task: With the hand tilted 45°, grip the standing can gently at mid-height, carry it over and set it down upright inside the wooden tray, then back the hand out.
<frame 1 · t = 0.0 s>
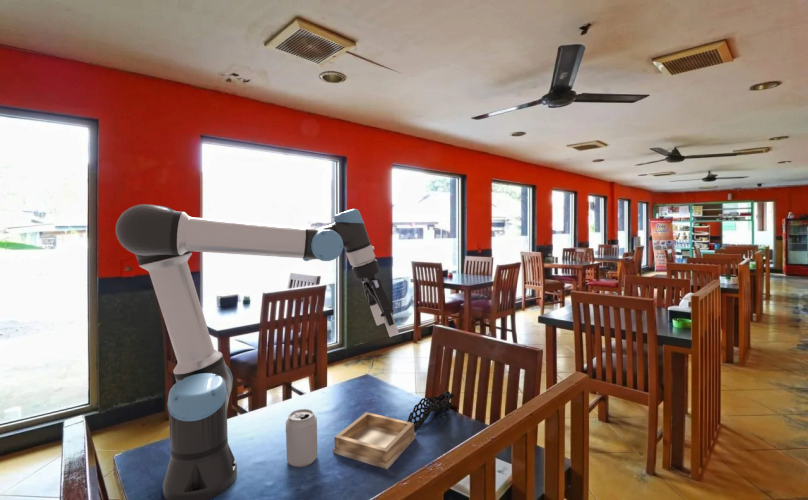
hand: (387, 329, 119), 28 cm above the table, tool tilted 20°, fingers open, 13 cm apart
decorative element: (431, 417, 124), on the table
wooden tray: (375, 445, 107), on the table
can: (302, 461, 101), on the table
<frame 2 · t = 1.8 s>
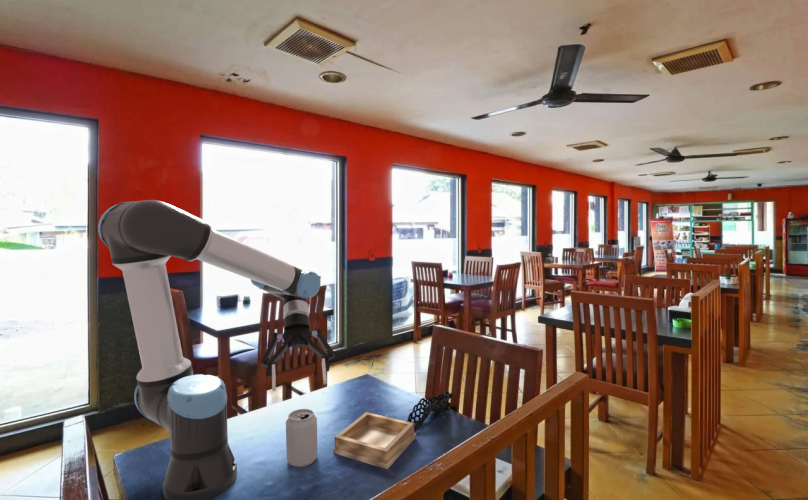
hand: (300, 385, 110), 15 cm above the table, tool tilted 45°, fingers open, 13 cm apart
nothing on the table moved.
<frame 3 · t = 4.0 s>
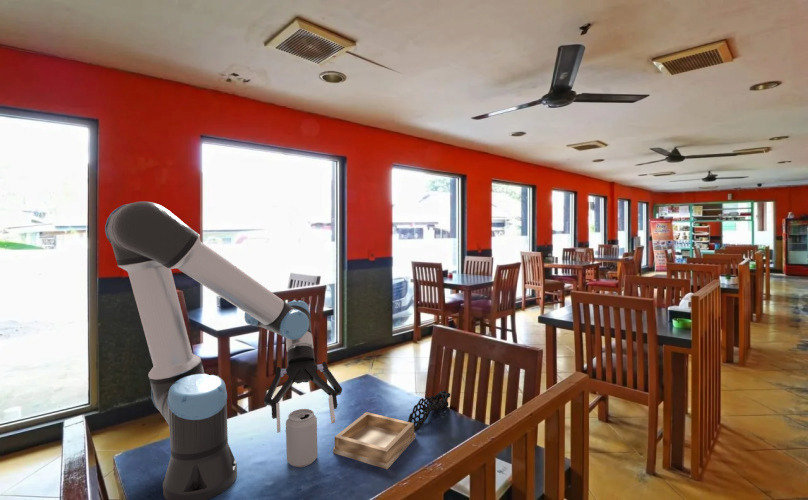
hand: (306, 426, 103), 7 cm above the table, tool tilted 45°, fingers open, 13 cm apart
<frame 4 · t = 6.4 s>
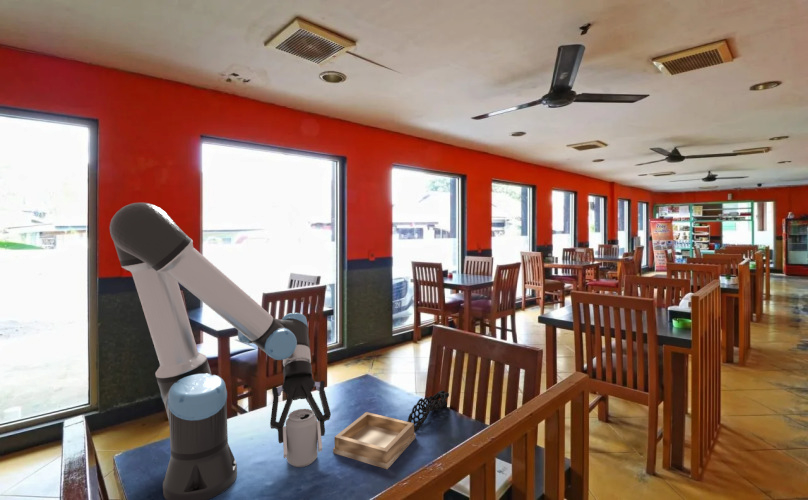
hand: (303, 452, 97), 4 cm above the table, tool tilted 45°, fingers closed on can, 7 cm apart
can: (302, 460, 101), on the table, touching gripper
everything else where it was.
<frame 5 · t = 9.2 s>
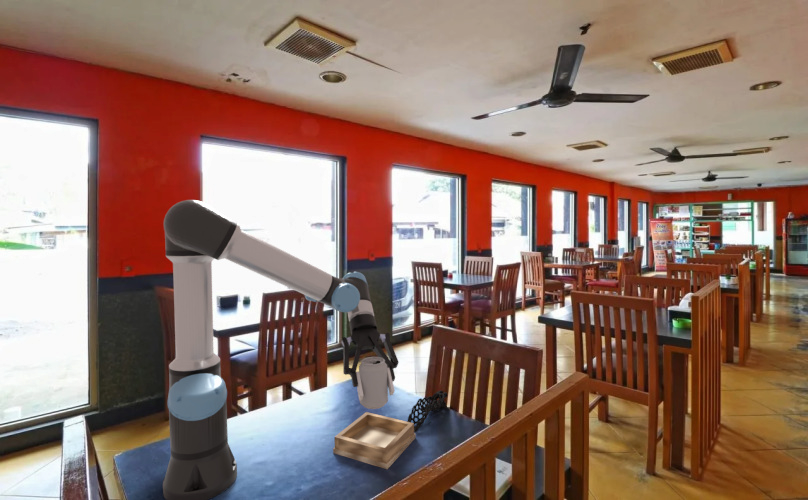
hand: (376, 395, 103), 15 cm above the table, tool tilted 45°, fingers closed on can, 7 cm apart
can: (373, 404, 107), point 11 cm above the table, touching gripper
when the fingers open (6 cm above the table, at t = 12.0 s): can drops 1 cm, resting on wooden tray.
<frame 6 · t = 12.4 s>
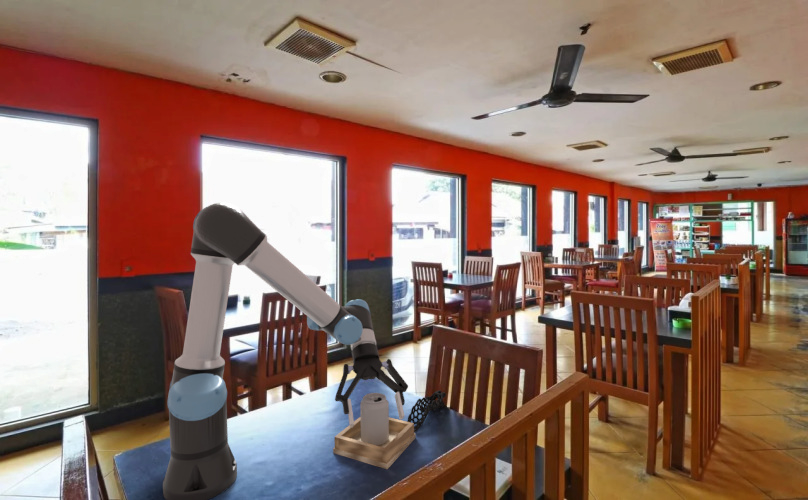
hand: (377, 421, 105), 8 cm above the table, tool tilted 45°, fingers open, 13 cm apart
can: (374, 441, 107), point 1 cm above the table, touching wooden tray
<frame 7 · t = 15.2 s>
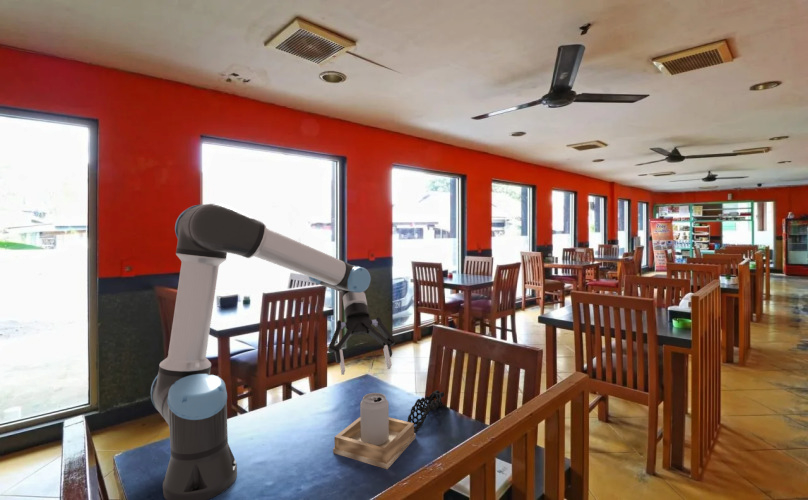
hand: (366, 369, 116), 17 cm above the table, tool tilted 45°, fingers open, 13 cm apart
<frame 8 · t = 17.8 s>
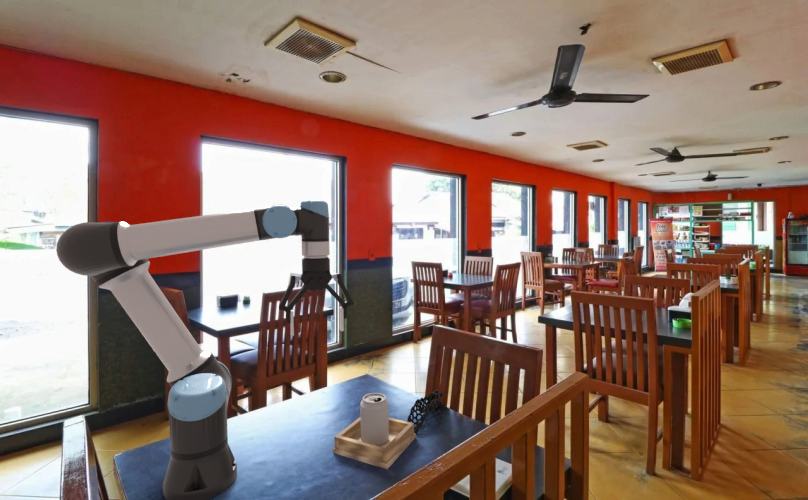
hand: (317, 332, 113), 29 cm above the table, tool pointing down, fingers open, 13 cm apart
at the end: can inside the target area on the wooden tray (0.2 cm from its centre), point 1.0 cm above the wooden tray's base; can tilted 0°; the gripper is holding nothing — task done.
